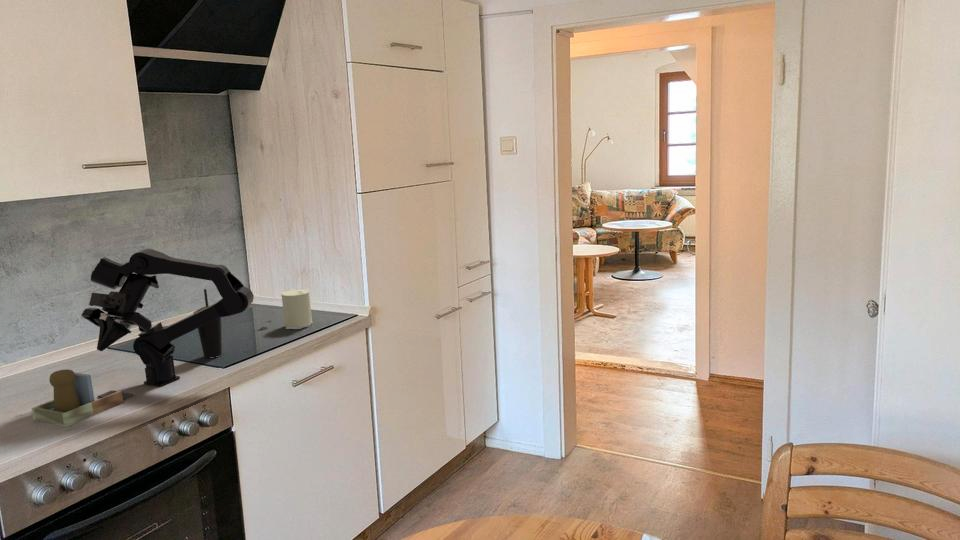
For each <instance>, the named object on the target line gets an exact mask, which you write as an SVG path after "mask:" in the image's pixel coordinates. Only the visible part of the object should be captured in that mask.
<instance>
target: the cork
mask: <svg viewBox="0 0 960 540" xmlns="http://www.w3.org/2000/svg"><path fill="white" fill-rule="evenodd" d="M75 373H76V372H75V371H73V370H72V369H69V368H68V369H67V368H66V369H59V370H56V371H54V372H52V373H51V374H50V376H49V384H50V385H51V386H52V388H53V400H54V411H58V412H63V413H65V412H68V411H70V410H73V409H75V408H78V407H80V406H81V403H80V400H79V397H78V394H77V391H76V388H75V385H74V382H75Z"/></svg>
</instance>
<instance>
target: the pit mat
mask: <svg viewBox="0 0 960 540" xmlns="http://www.w3.org/2000/svg"><path fill="white" fill-rule="evenodd" d="M115 392H117V390H109V391H107V392H104V393H102V394H98V395H97V398H98V397H99V398H98V399H100V398H103V397H105V396H108V395H110V394H113V393H115ZM133 395H134V396H135V394H134V393H129V392H124V391H122V398H123V401H125V400H126V398H127V399H129V398H131V396H132V397H134V396H133Z"/></svg>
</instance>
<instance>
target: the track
mask: <svg viewBox="0 0 960 540" xmlns="http://www.w3.org/2000/svg"><path fill="white" fill-rule="evenodd" d="M116 391H117V390H116ZM122 392H123V391H121V390H118V391H117V392H115V393H113V394H110V395H108V396H105V397H103V398H98V399H95V401H93V402H90V403H88V404H85V405H83V406H80V407H78V408H75V409H73V410H70V411H68V412H65V413H63V412H58V411H53V410H50V409H52V408H54V399H52V400H49V401H46V402H44V403H40V404H38V405H36V406H33V407H31V412H32V418H33V421H36V422H41V423H46V424H51V425H57V426H61V427H69V426H72V425H75V424H76V422H77V423H79V422H82V421H83V419H84V420H86V419H88V418H87V417H89V418H91V417H93V416H96V415H98V414H100V413H103V412H105V411H107V410H109V408H110V409H112V408H114V406H115V407H117V406H119V405H121V403H122V404H123V403H124V400H123V398H122ZM104 410H105V411H104ZM102 411H103V412H102ZM97 413H98V414H97ZM95 414H96V415H95ZM90 416H91V417H90ZM85 418H86V419H85Z"/></svg>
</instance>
